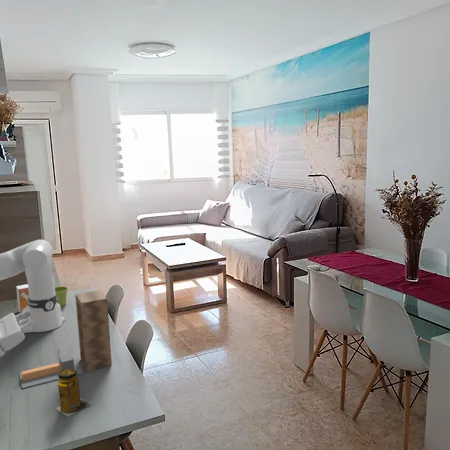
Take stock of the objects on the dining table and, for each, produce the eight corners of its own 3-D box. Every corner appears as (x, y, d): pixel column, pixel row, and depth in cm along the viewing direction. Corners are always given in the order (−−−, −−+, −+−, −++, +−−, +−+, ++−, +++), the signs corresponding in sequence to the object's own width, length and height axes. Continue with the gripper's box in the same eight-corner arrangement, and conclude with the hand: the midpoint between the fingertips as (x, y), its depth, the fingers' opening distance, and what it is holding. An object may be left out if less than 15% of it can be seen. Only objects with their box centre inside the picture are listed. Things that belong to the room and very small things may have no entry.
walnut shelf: (86, 371, 160) (81, 303, 155) (80, 359, 170) (75, 294, 165) (111, 365, 164) (107, 298, 160) (104, 353, 174) (99, 290, 169)
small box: (20, 314, 216) (17, 289, 214) (18, 310, 221) (15, 285, 219) (38, 311, 221) (35, 286, 218) (35, 307, 226) (33, 282, 224)
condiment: (55, 408, 138) (51, 373, 136) (79, 396, 144) (76, 362, 142) (67, 417, 133) (64, 380, 131) (92, 404, 140) (89, 369, 137)
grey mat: (22, 388, 149) (21, 387, 149) (19, 373, 160) (18, 372, 160) (82, 373, 159) (82, 372, 159) (76, 359, 169) (76, 358, 169)
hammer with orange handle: (23, 382, 153) (22, 371, 152) (21, 376, 157) (20, 365, 156) (74, 369, 161) (73, 359, 160) (71, 364, 165) (70, 354, 164)
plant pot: (51, 310, 222) (49, 293, 220) (48, 304, 230) (47, 288, 229) (70, 306, 226) (69, 290, 225) (67, 301, 234) (66, 285, 233)
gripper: (-6, 336, 158) (31, 314, 163) (0, 359, 140) (41, 333, 146) (-15, 322, 155) (22, 300, 161) (-11, 344, 138) (31, 318, 144)
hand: (32, 316), depth 153 cm, fingers open, 8 cm apart
